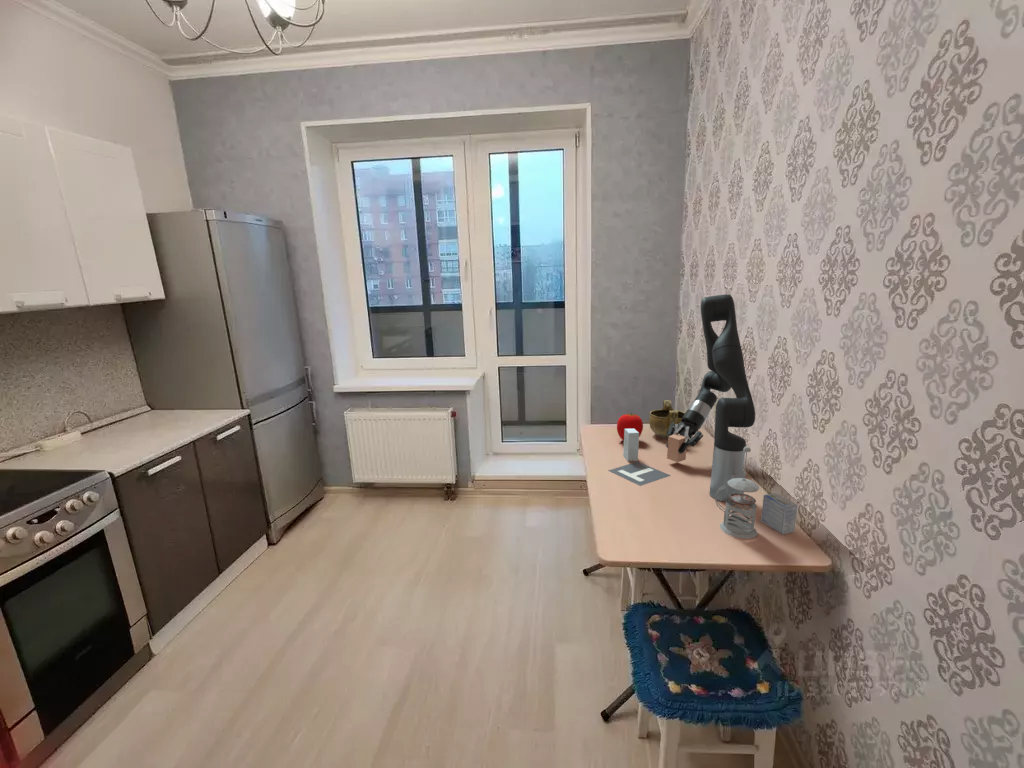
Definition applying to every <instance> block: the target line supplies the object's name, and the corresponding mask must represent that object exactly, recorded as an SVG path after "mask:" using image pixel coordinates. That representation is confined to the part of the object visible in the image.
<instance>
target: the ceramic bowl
mask: <svg viewBox="0 0 1024 768" xmlns="http://www.w3.org/2000/svg"><path fill="white" fill-rule="evenodd" d="M662 404H663V405H662V408H661V409H660V408H659V409H653V410H651V411H650V412H649V415H648V424H649V427H650V430H651V431H652V432H653V433H654V434H656V435H657V436H658V437H660V438H663V439H666V440H667V439H668V435H667V434H668V431H669V428H670V425H671V423H674V424H679V423H680V422H681V420H682V417H683V416H684V414H685V413H686V411H685V412H684V411H682V410H677V409H673V408H672V400H667V399H664V400H663V402H662ZM677 429H678V428H677ZM675 431H676V430H675ZM678 434H679V433H678Z"/></svg>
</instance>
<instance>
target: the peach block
mask: <svg viewBox="0 0 1024 768" xmlns="http://www.w3.org/2000/svg"><path fill="white" fill-rule="evenodd" d="M684 440H685V437H684V436H682V435H679V434H677V435H671V436H668V441H667V442H668V448H667V451H666V452H667V453H666V454H667V455H666V459H668V460H670V461H673V462H675V463H680V462H683V461H686V459H687V449H686V450H685V451H684V452H683V453H682V454H681V453H679V452H678V449H679V448H680V446H681V445H682V443H684Z"/></svg>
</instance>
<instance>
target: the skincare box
mask: <svg viewBox="0 0 1024 768" xmlns="http://www.w3.org/2000/svg"><path fill="white" fill-rule="evenodd" d="M639 445H640V437H639V432H638V431H636V430H635V429H634V428H633V429H624V441H623V452H622V456H623V458H624V459H625V460H626V461H627V462H639Z"/></svg>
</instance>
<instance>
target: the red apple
mask: <svg viewBox="0 0 1024 768" xmlns="http://www.w3.org/2000/svg"><path fill="white" fill-rule="evenodd" d="M633 428H634V429H635V430H636V431H638V432H639V438H640V437H641V435H642V432H643V430H644V422H643V420H642V418H641V417H640V416H639V414H636V413H635V414H634V413H626V414H623V415H621V416H620V417H619V418H618V420H617V424H616V430H617V434H618V436H619V438H620V439H621V440H622V441H623V442H624V429H633Z"/></svg>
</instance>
